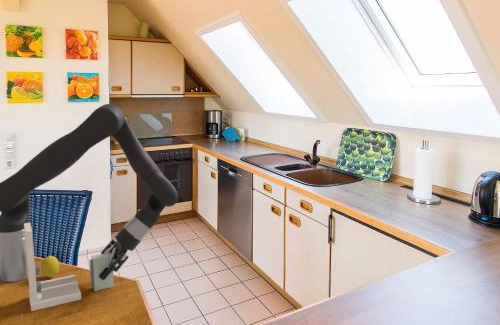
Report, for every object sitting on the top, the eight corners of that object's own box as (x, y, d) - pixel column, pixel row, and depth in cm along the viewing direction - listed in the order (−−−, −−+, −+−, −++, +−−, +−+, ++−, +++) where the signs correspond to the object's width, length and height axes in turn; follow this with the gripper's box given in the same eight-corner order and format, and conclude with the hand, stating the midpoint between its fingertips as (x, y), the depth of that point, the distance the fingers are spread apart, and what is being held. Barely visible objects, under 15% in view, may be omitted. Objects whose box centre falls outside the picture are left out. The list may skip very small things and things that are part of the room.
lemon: (42, 275, 135) (40, 253, 134) (60, 273, 138) (58, 251, 136) (41, 282, 130) (39, 260, 129) (59, 279, 133) (58, 257, 131)
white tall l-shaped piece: (76, 286, 128) (72, 216, 124) (81, 299, 121) (77, 224, 117) (29, 297, 121) (23, 223, 117) (31, 311, 114) (24, 232, 109)
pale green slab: (112, 283, 131) (110, 252, 129) (114, 286, 129) (112, 255, 127) (90, 288, 128) (89, 256, 126) (92, 291, 125) (90, 259, 124)
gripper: (119, 220, 135) (84, 259, 131) (130, 233, 123) (93, 276, 119) (135, 232, 139) (102, 270, 135) (147, 246, 127) (112, 288, 123)
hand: (98, 273), depth 127 cm, fingers open, 7 cm apart
